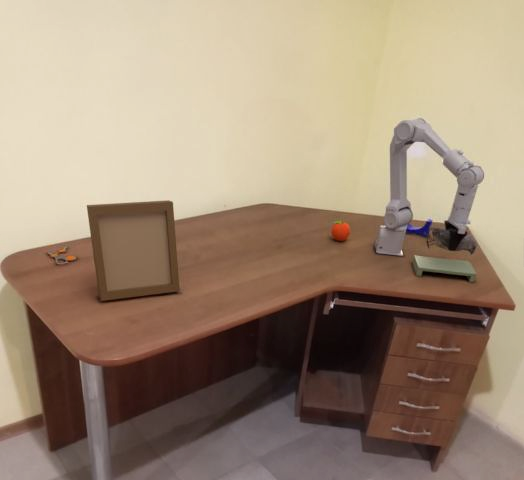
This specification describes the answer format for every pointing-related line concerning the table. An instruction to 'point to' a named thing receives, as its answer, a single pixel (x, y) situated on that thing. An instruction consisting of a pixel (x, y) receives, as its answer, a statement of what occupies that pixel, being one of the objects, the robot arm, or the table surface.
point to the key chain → (62, 257)
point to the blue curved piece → (420, 229)
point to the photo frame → (134, 248)
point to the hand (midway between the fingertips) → (449, 246)
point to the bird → (443, 238)
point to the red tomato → (340, 231)
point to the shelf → (443, 266)
